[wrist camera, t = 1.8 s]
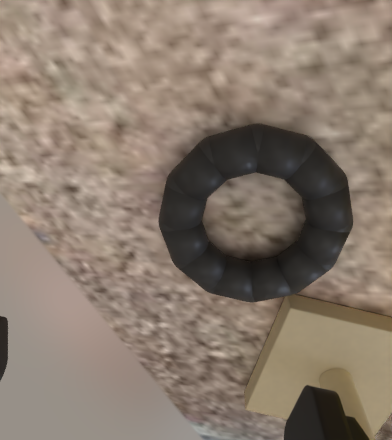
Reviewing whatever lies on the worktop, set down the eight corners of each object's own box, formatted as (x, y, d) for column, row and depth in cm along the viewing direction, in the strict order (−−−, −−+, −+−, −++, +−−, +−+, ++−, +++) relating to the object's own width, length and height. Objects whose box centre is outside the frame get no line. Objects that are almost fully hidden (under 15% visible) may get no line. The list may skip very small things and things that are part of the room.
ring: (184, 100, 18) (179, 108, 16) (375, 149, 18) (393, 162, 16) (150, 263, 22) (143, 285, 20) (305, 300, 22) (313, 325, 20)
